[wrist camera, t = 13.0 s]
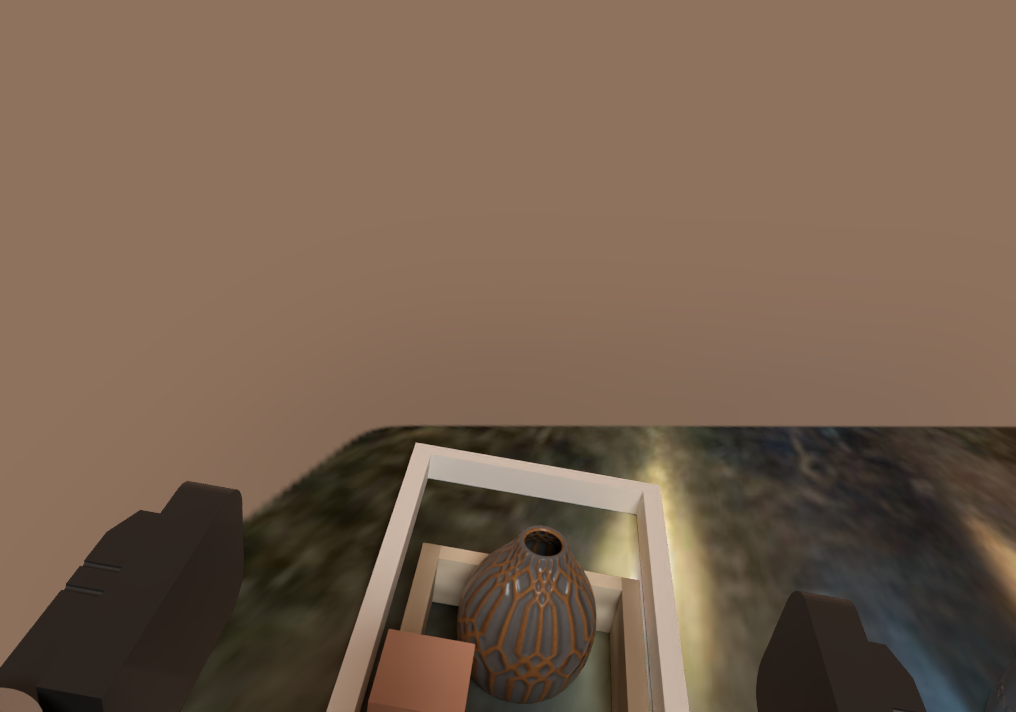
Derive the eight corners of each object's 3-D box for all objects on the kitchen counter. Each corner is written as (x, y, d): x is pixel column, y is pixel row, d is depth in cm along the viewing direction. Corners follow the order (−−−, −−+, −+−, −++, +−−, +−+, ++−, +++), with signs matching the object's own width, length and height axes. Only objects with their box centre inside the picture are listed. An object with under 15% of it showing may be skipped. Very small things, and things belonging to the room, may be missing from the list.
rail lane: (652, 508, 57) (659, 485, 56) (687, 811, 37) (698, 784, 36) (413, 466, 57) (416, 442, 56) (322, 747, 37) (324, 717, 36)
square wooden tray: (626, 622, 46) (678, 448, 41) (646, 969, 31) (734, 767, 25) (417, 585, 46) (441, 407, 41) (333, 913, 31) (352, 699, 25)
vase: (451, 614, 45) (471, 488, 41) (573, 624, 46) (605, 501, 42) (447, 723, 39) (470, 588, 35) (588, 733, 40) (626, 601, 36)
